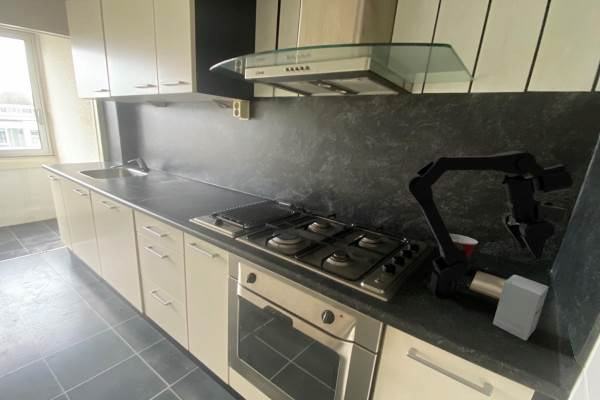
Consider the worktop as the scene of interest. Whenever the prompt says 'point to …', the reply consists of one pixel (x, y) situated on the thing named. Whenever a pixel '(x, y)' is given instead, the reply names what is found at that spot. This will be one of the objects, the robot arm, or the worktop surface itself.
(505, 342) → the worktop surface
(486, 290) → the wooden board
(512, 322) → the supplement box
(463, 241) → the plastic cup
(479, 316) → the worktop surface
